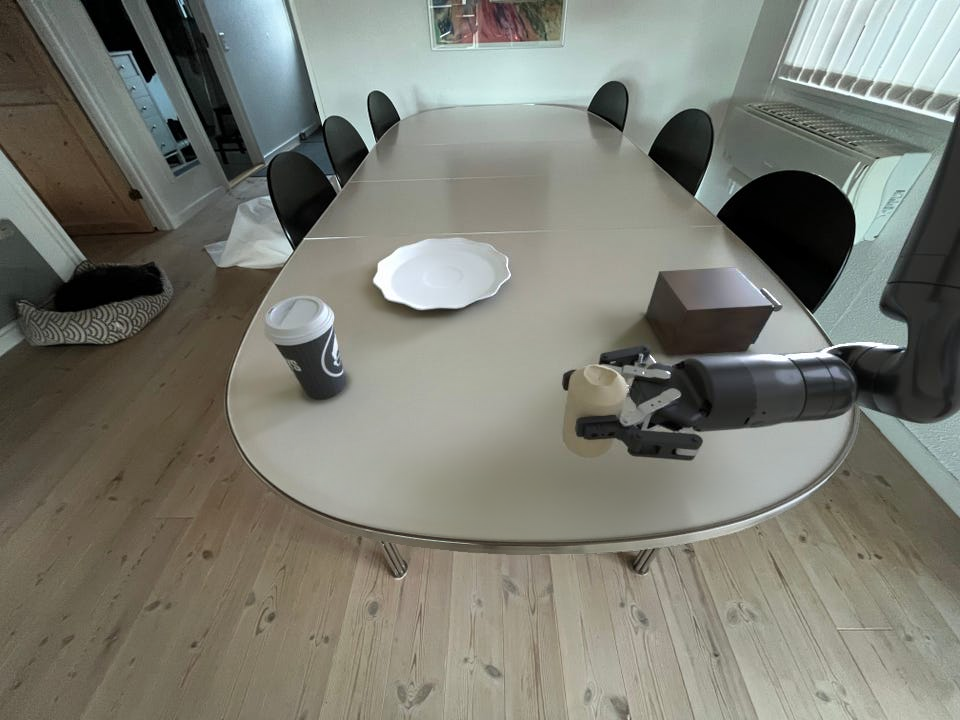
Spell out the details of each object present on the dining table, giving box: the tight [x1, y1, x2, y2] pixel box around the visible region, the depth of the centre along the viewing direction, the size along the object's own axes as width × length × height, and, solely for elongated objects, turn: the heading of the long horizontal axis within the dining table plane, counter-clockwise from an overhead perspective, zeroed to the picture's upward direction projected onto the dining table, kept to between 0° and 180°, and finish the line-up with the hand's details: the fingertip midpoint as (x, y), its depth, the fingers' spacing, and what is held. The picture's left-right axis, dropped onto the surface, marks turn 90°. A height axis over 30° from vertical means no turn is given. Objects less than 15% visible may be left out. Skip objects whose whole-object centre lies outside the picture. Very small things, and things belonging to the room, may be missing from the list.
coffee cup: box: [263, 295, 347, 401], centre depth 62 cm, size 10×10×15 cm
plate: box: [372, 237, 511, 312], centre depth 89 cm, size 29×29×2 cm
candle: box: [561, 364, 629, 459], centre depth 42 cm, size 6×6×10 cm
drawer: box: [740, 272, 783, 345], centre depth 71 cm, size 16×10×8 cm, turn 93°
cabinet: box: [645, 266, 773, 356], centre depth 71 cm, size 14×12×10 cm
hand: (570, 403), depth 41 cm, fingers closed on candle, 5 cm apart
